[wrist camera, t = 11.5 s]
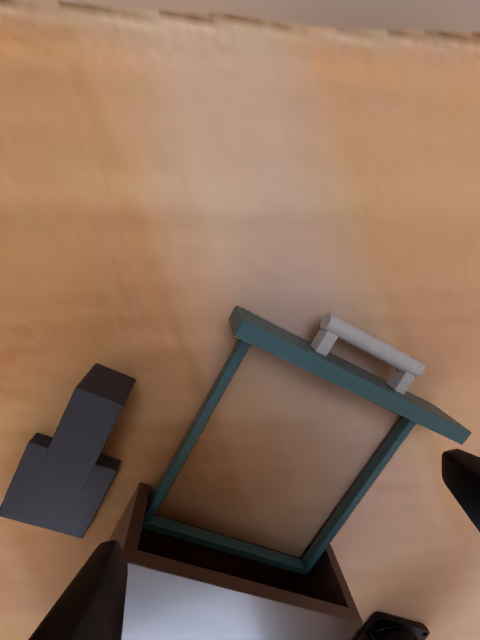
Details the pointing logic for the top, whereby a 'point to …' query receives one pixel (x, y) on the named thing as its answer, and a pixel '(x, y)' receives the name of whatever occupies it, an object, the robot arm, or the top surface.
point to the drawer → (332, 370)
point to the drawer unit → (226, 597)
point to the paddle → (70, 459)
